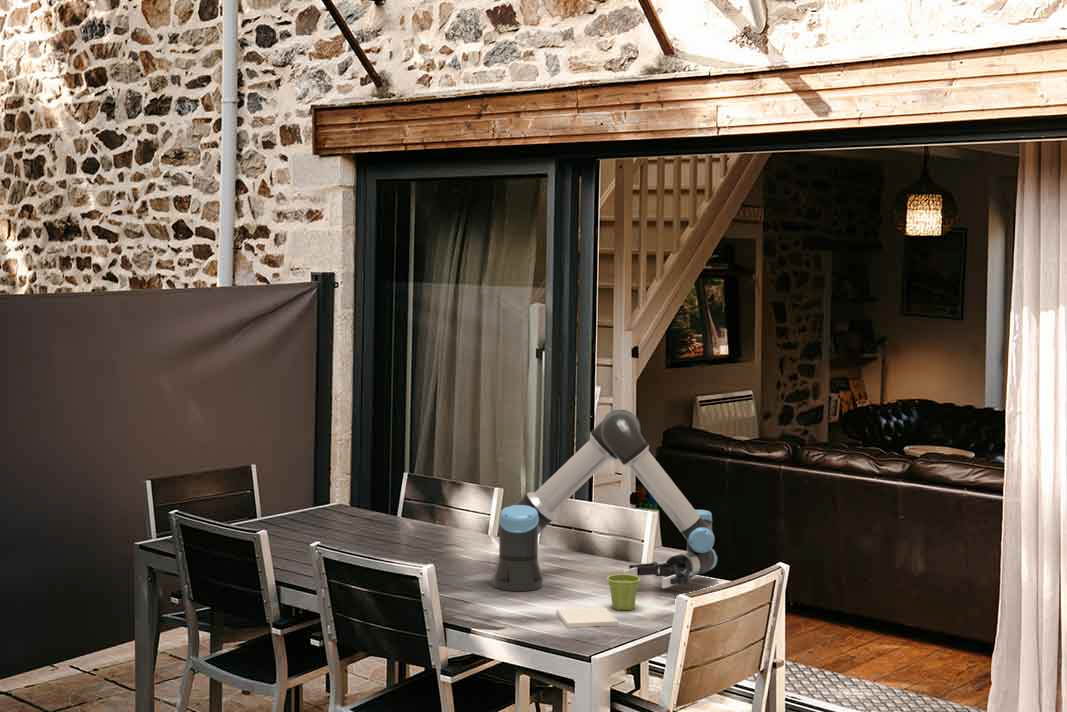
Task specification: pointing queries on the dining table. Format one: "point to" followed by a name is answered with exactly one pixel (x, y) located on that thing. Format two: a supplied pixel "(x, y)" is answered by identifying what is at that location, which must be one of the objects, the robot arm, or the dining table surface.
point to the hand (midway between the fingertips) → (643, 579)
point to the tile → (587, 617)
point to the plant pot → (623, 590)
